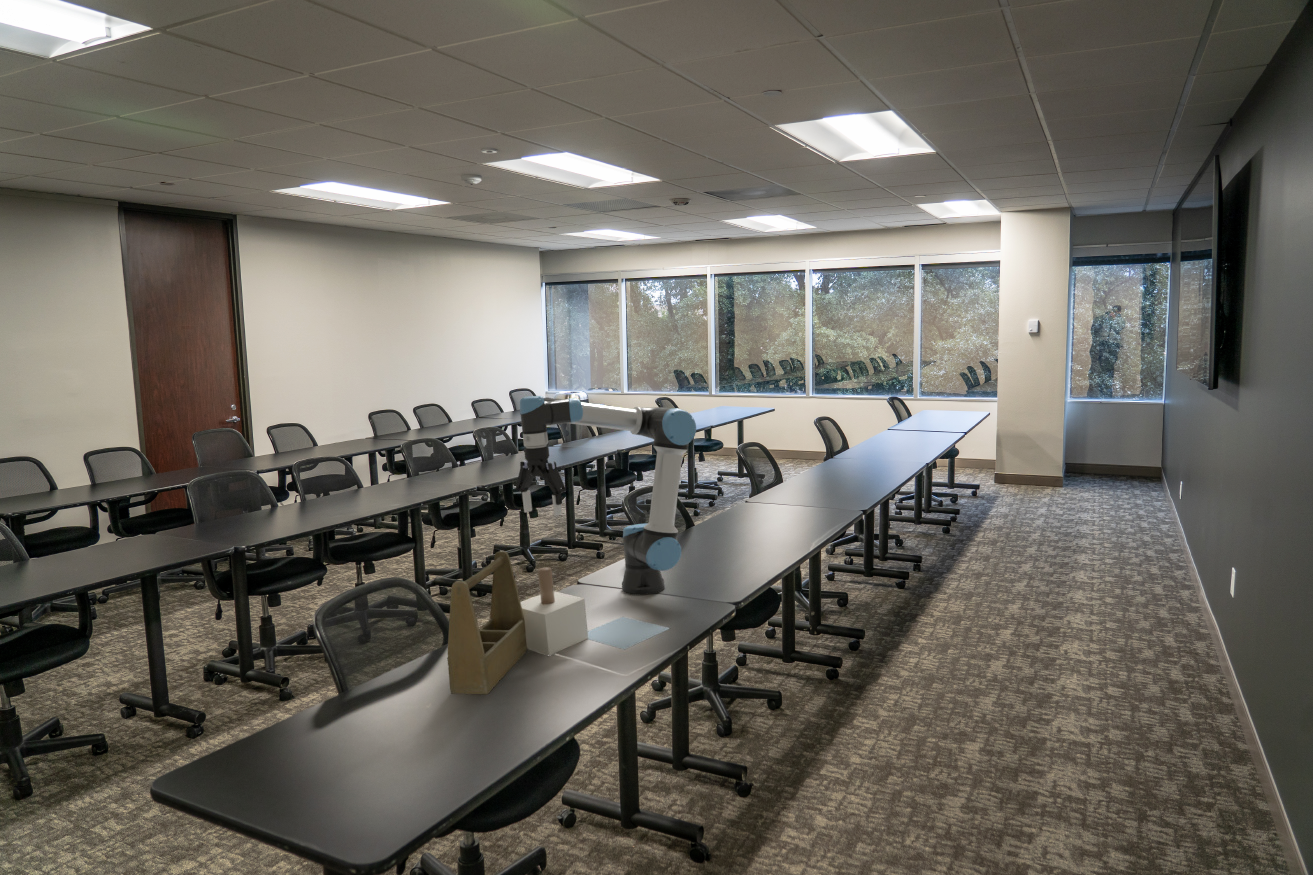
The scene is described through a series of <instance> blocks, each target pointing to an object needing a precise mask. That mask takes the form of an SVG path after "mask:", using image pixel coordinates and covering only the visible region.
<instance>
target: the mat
mask: <svg viewBox="0 0 1313 875" xmlns="http://www.w3.org/2000/svg"><path fill="white" fill-rule="evenodd" d="M670 629H671V627H667V626H662V625H659V624H656V623H655V624H654V623H650V622H646V621H643V620H637V619H636V618H629V617H626V616H620V617H619V618H616V619H613V620H611V621H608V622H605V623H604V624H601V625H599V626H596V627H595V628H592V629H589V630H588V639H587V640H590V641H592V642H593V641H594V642H596V643H601V644H604V645H607V646H610V647H614V648H618V649H622V650H627V649H628V648H631V647H633V646H635V645H637V644H640V643H642V642H644V641H646V640H648V639H650V638H653V637H655V636H657V635H659V634H661V633H663V632H666V631H668V630H670Z"/></svg>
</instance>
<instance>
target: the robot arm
mask: <svg viewBox="0 0 1313 875" xmlns="http://www.w3.org/2000/svg"><path fill="white" fill-rule="evenodd" d="M519 414H520V421H521V429H522V438H523V442H522V443H523V446H524V449H523V450H524V451H523V452H524V459H525V460H521V461H519V462H520V463H519V464H520V465H519V466H520V469H519V473H518V478H517V480H516V484H515V489H516V490H518V491H519V492H520V493H521V494H520V495H521V501H522V503H523V504H522V505H523V512H524V513H530V512H532V511H533V504H532V495H531V490H530V486H531V485H532V483H533V480H534V479H535V477H541V479H543V480H544V481H545V482H546V484H547V485H548V487H549V488H550V491H551V492H552V494H551V497H552V498H551V499H552V508H553V516H554V517H556V516H560V515H562V514H563V509H562V504H563V498H562V494H563V493H565V492H567V488H566V486H565V483H564V481H563V479H562V477H561V474H560V472H559V470H558V468H557V467H558V466H557V463H556V461H552V462H549V461H548V460H549V458H550V448H549V446H548V445H549V437H548V429H547V427H548V426H553V425H563V424H572V425H579V426H586V427H595V428H604V429H612V430H618V431H620V430H621V431H627V432H628V431H629V432H630V433H631V435H636V436H642V437H646V438H649V439H652V440H653V445H652V446H653V448H654V450H655V451H656V457H655V458H656V459H655V466H654V467H655V468H654V475H653V484H652V491H651V492H652V494H651V501H650V510H649V519H648V523H647V522H646V523H638V524H636V523H635V524H631V525H628V526H626V527H624V528H623V530H622V532H623V533H622V540H623V551H624V552H623V554H624V562H625V564H624V565H625V569H624V573H623V578H622V582H621V591H622V592H623V593H624V594H627V595H633V596H635V595H636V596H644V595H645V596H646V595H647V596H648V595H651V594H656V593H659V592H662V591H663V590H664V589H665V586H666V585H665V584H666V583H665V579H664V578H663V576H662V572H663V571H664V572H665V571H668V570H671V569H673V568H674V567H675V566H677V564H678V563H679V561H680V559H681V557H682V546H681V544H680V542H679V541H678V534H679V530H678V529H677V528H676V527H675V522H676V521H675V520H676V514H677V504H678V495H679V494H678V493H679V487H680V478H681V472H682V471H681V470H682V463H683V455H684V454H685V453H686V452H688V450H689V443H691V442H692V441H693V439H694V438H695V436H696V432H697V423H696V420H695V419H694V417H693V416H692V414H691V413H690V412H688V411H687V410H684V409H680V408H678V407H677V408H674V407H673V408H672V407H665V406H664V407H663V406H661V407H660V406H659V407H643V406H642V407H641V406H635V407H634V408H626V407H619V406H611V405H604V404H596V403H590V402H589V403H588V402H584V401H581V400H580V399H579V398H577V397H576V398H575V397H573V398H565V399H561V398H551V397H544V396H542V395H534V396H532V395H531V396H524V397H522V398H520V399H519Z"/></svg>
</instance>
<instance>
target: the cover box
mask: <svg viewBox="0 0 1313 875" xmlns="http://www.w3.org/2000/svg"><path fill="white" fill-rule="evenodd" d="M537 577H538V584H539V585H538V587H539V595H535V596H533V597H530V598H527V599H525V600H523V601H520V603H521V607H522V611H523V615H524V620H525V633H526V644H527V650H529V651H532V652H536V653H538V654H541V653H542V654H541V655H544V654H545V655H544V656H547V655H549V656H548V657H550V655H551V656H552V655H555V654H556V653H557V652H559V651H562V650H565V649H567V648H569V647H571V646H574V645H576V644H578V643H581V642H583V641H586V640H589V639H588V631H589V630H588V622H587V619H588V618H587V612H586V600H585V598H584V597H579V596H575V595H571V594H567V593H562V592H560V591H556V590H555V591H554V583H553V582H554V581H553V580H554V579H553V571H552V568H551V567H548V566H546V567H540V568H538V569H537Z"/></svg>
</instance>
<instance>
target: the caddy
mask: <svg viewBox="0 0 1313 875" xmlns="http://www.w3.org/2000/svg"><path fill="white" fill-rule="evenodd" d="M492 573H493V574H492ZM491 574H492V584H491V602H490V613H489V620H488V621H486V622H485V623H484V624H483V625H482V626H481V627H480V626H479V624H478V619H477V615H476V610H475V608H474V604H473V600H472V596H471V592H470V590H471V589H472V588H474V587H475V586H476V585H479V583H481V582H482V581H483V580H485V579H486V578H487V577H489V576H490V575H491ZM515 578H516V577H515V573H514V569H513V566H512V562H511V558H510V555H509V553H508V552H506V551H503V550H500V551H497V552H495V553H494V557H493V561H492V562H491V563H489V564H488V565H486V566H485V567H484V568H482V569H481V570H480V571H478V572H477V573H475V574H474V575H472V576H470V577H468V578H467V579H466V580H456V581H454V582H453V583H452V585H451V590H450V604H449V606H450V608H449V619H448V620H449V622H448V623H449V624H448V639H447V666H448V667H447V670H448V681H449V688H450V689H449V690H450V694H454V695H455V694H459V695H460V694H461V695H462V694H463V695H488V694H489V693H490V692H491V691H492V690H493V689H494V688H493V687H496V686H497V684H498V683H499V682H500V681H501V680H502V679H503V678H504V677H505V675H506V674H507V673H508V672H509V671H510V670H511V669H512V668H513V667H514V666H515V665H516V664H517V663H518V662H519V661H520V659H521V658H522V657H523V656H524V655H525V654H526V653H527V651H528V649H527V644H526V633H525V620H524V615H523V611H522V607H521V603H520V602H521V599H520V595H519V590H518V585H517V582H516V579H515ZM502 677H503V678H502ZM501 678H502V679H501ZM499 680H500V681H499Z"/></svg>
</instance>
